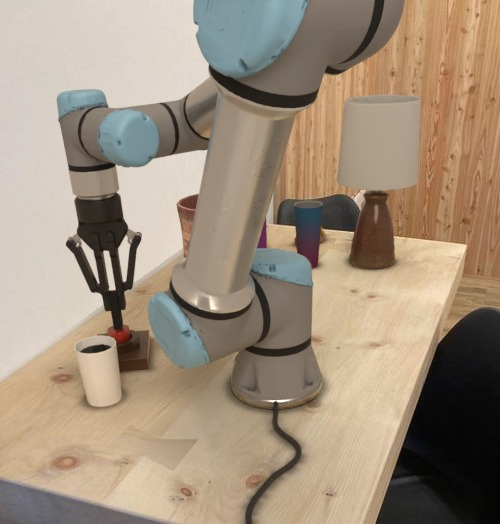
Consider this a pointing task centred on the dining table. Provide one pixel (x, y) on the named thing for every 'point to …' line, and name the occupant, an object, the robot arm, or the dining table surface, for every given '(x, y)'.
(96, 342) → the white coffee cup
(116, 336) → the lamp switch
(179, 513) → the dining table surface
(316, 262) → the cup
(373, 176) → the lamp
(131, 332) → the switch box
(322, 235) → the pastry
